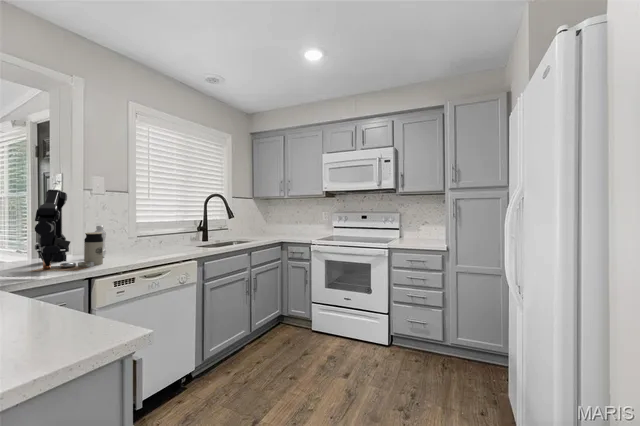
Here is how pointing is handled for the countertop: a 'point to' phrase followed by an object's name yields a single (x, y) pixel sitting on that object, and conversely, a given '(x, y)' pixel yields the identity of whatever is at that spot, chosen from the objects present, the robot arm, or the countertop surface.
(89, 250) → the travel mug
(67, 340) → the countertop surface
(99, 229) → the plastic bottle
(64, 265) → the grey ball copper handle
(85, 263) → the stand
